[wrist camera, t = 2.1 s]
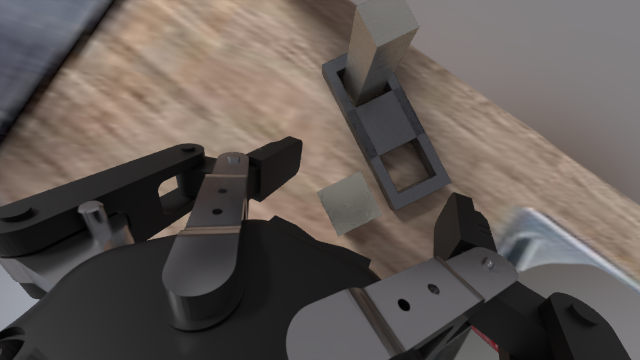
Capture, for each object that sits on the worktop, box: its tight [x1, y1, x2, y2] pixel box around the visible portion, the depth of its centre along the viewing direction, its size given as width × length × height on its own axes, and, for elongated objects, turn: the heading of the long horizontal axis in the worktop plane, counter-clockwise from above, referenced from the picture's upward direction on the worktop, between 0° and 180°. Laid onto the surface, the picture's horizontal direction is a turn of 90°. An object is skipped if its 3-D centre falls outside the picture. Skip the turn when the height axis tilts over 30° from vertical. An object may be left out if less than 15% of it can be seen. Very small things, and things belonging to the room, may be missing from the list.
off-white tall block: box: [317, 171, 382, 236], centre depth 28 cm, size 4×4×15 cm
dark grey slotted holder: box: [322, 53, 452, 210], centre depth 35 cm, size 24×9×2 cm, turn 26°
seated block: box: [343, 0, 419, 107], centre depth 29 cm, size 4×4×15 cm
